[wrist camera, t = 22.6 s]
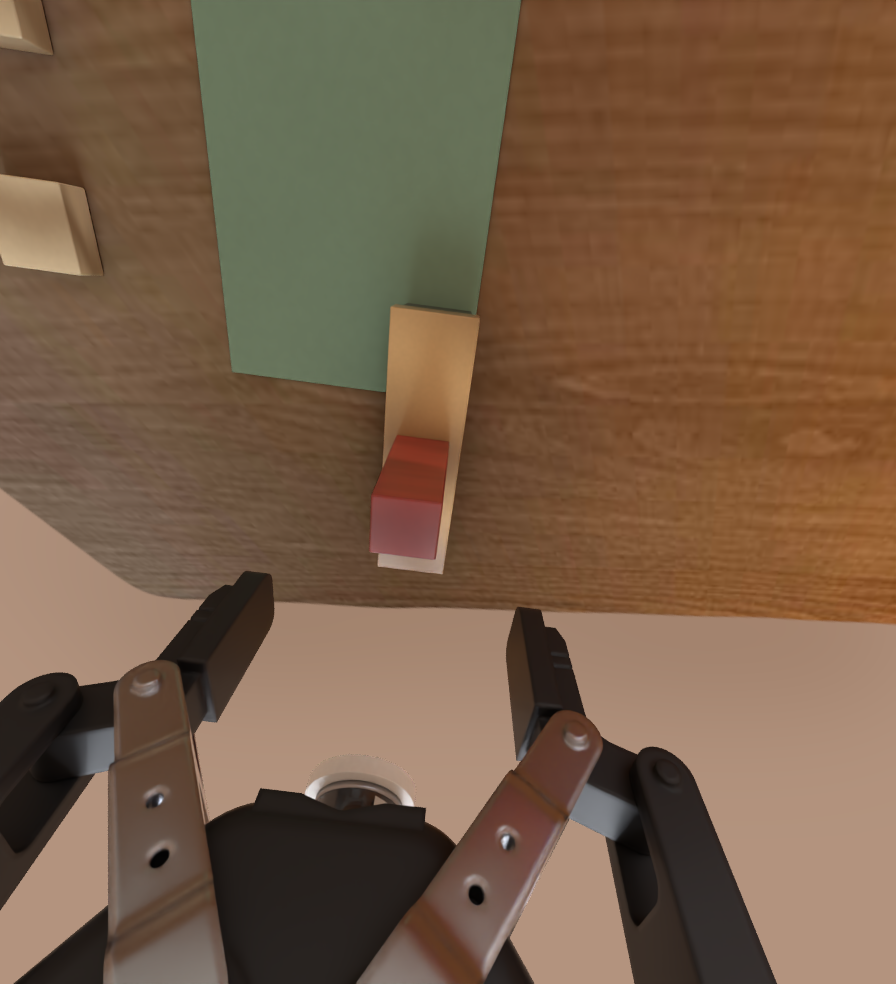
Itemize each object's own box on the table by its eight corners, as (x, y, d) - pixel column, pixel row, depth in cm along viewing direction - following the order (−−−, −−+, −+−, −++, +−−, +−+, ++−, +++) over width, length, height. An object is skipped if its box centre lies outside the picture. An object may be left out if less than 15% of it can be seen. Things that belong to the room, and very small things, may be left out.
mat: (463, 402, 26) (463, 402, 25) (233, 371, 25) (231, 371, 25) (524, -24, 17) (524, -27, 17) (184, -77, 17) (181, -81, 17)
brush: (445, 548, 31) (435, 661, 22) (385, 540, 31) (351, 652, 22) (479, 312, 23) (485, 341, 14) (399, 301, 23) (356, 324, 14)
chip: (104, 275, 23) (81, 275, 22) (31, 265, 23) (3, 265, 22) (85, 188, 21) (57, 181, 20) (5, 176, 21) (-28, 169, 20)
